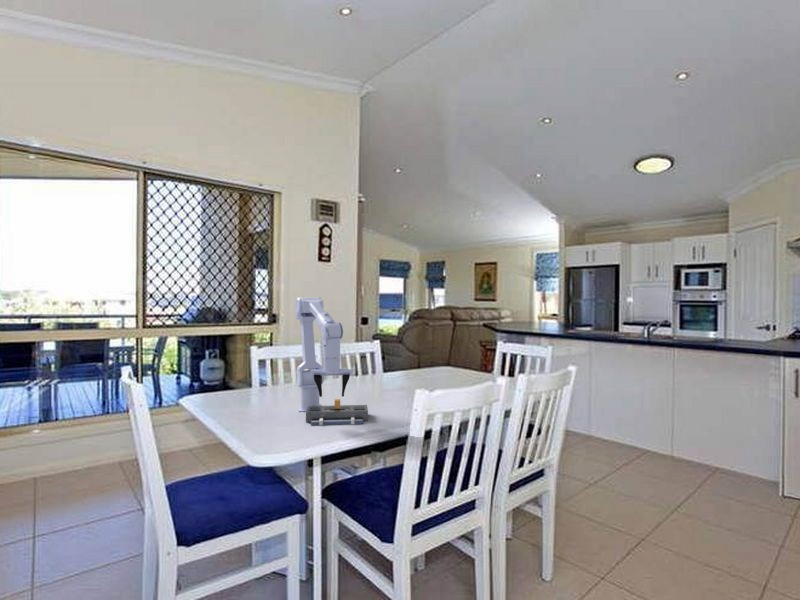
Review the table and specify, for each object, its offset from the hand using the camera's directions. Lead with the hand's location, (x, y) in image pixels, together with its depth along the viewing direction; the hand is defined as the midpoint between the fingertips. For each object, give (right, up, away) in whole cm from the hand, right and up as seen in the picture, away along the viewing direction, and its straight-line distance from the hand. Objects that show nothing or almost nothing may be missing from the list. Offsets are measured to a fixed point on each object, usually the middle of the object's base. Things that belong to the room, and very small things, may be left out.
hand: (331, 396), depth 166 cm
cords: (+2, -10, +1) cm, 10 cm away
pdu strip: (+1, -10, +8) cm, 12 cm away
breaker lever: (+1, -6, +7) cm, 10 cm away
